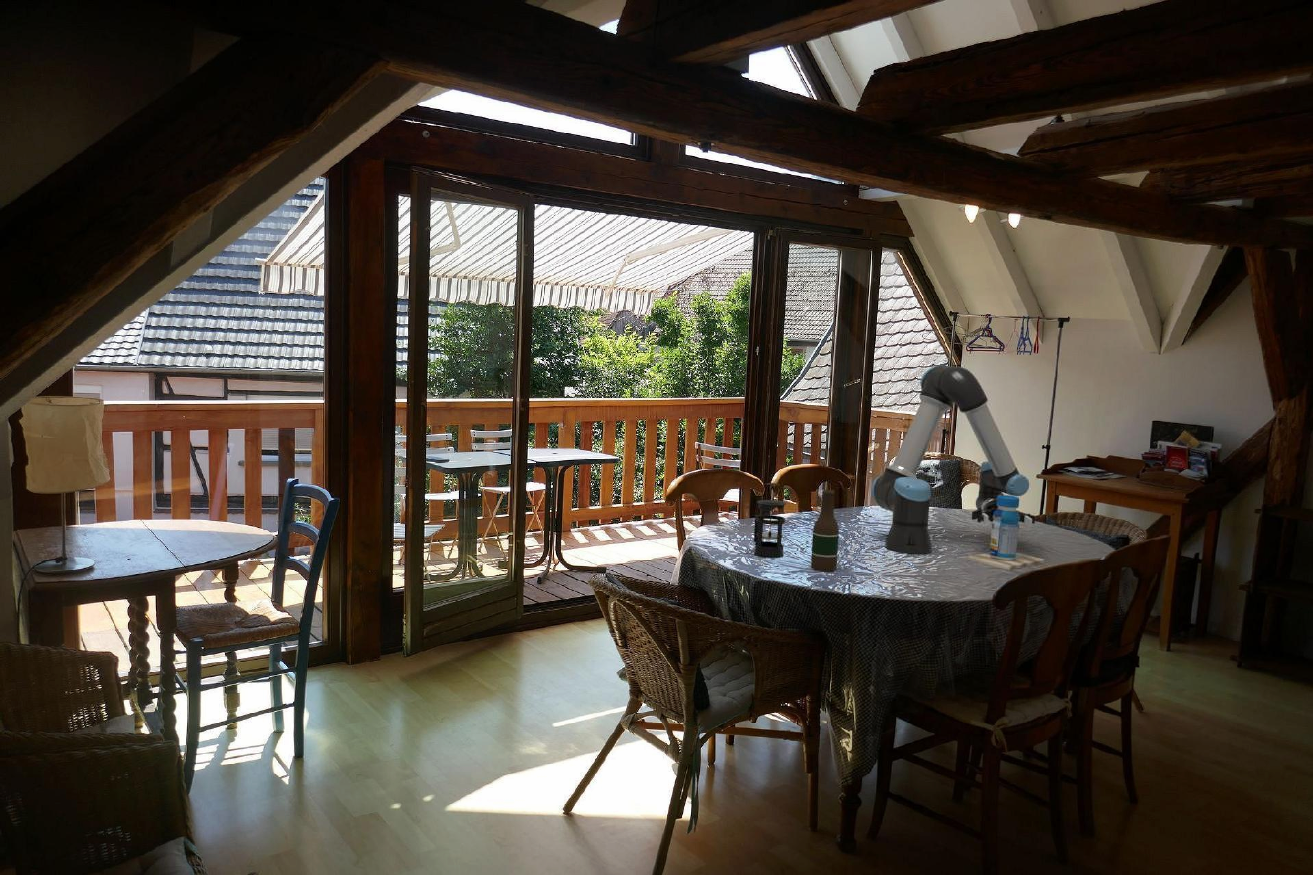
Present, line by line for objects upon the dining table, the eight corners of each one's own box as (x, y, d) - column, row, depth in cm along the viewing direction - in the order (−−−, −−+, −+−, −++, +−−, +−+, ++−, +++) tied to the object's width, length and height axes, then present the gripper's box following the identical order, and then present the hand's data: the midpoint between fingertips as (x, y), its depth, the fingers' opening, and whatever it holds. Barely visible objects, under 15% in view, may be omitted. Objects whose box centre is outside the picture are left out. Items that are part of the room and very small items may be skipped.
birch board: (1009, 569, 297) (1009, 566, 297) (967, 559, 309) (967, 556, 309) (1043, 562, 309) (1044, 559, 309) (1002, 553, 321) (1002, 550, 321)
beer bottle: (805, 568, 288) (810, 489, 286) (820, 564, 294) (825, 487, 291) (826, 573, 283) (831, 493, 280) (841, 569, 288) (846, 491, 286)
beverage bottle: (1008, 562, 303) (1015, 500, 301) (983, 556, 309) (989, 495, 307) (1020, 558, 309) (1026, 497, 307) (995, 553, 315) (1001, 493, 313)
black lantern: (791, 556, 302) (795, 484, 300) (769, 559, 297) (773, 486, 294) (765, 549, 312) (769, 479, 309) (744, 552, 306) (748, 481, 304)
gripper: (1031, 523, 330) (1047, 536, 309) (956, 518, 333) (968, 530, 312) (1033, 502, 329) (1049, 513, 308) (958, 497, 332) (969, 508, 311)
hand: (1008, 522), depth 310 cm, fingers open, 13 cm apart
